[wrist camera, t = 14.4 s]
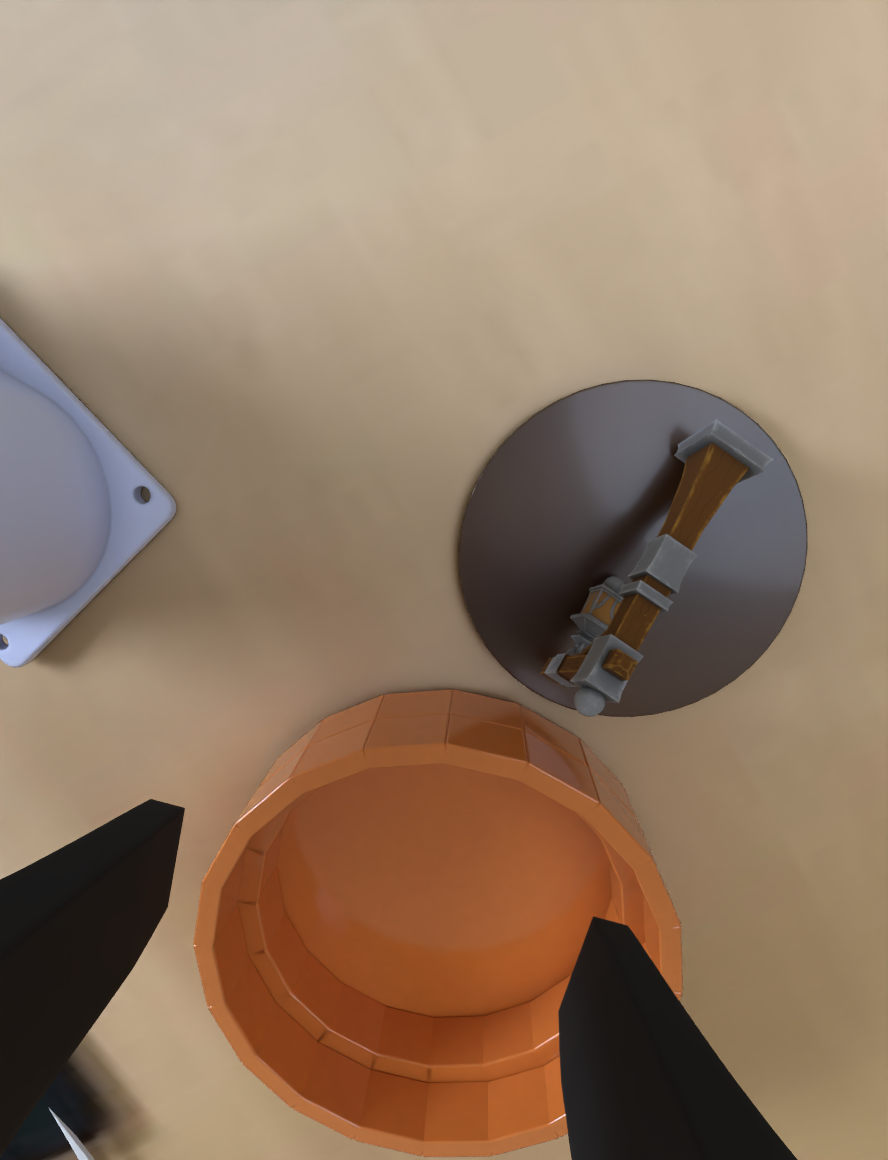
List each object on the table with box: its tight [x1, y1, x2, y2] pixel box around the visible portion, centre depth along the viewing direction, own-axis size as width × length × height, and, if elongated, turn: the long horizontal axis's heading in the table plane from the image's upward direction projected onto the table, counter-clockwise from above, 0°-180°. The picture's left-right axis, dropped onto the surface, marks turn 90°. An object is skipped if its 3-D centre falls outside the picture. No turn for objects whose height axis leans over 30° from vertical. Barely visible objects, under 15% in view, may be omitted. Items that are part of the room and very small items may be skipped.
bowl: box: [194, 689, 683, 1157], centre depth 19 cm, size 14×14×4 cm
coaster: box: [459, 380, 807, 717], centre depth 18 cm, size 10×10×1 cm
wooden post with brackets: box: [541, 419, 773, 717], centre depth 16 cm, size 2×8×4 cm, turn 147°
